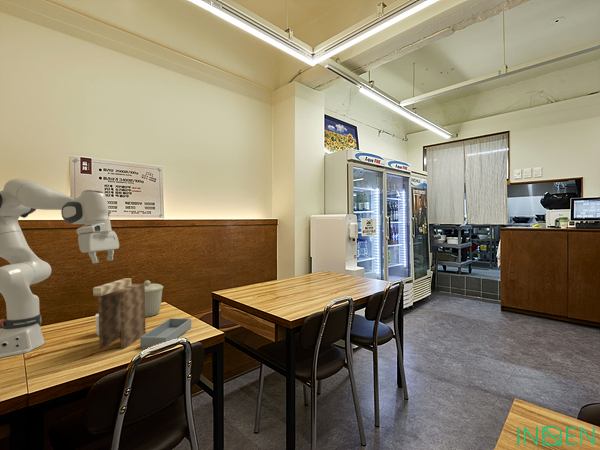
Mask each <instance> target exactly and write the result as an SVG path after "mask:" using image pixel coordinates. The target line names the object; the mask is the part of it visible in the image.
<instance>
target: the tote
mask: <svg viewBox="0 0 600 450" xmlns="http://www.w3.org/2000/svg"><path fill="white" fill-rule="evenodd" d="M190 328H191V329H192V318H181V317H180V318H175V317H174V318H173V317H172V318H171V317H170V318H168V319H166V320H164V321H163V322H162V323H160V324H158V325H157V326H155V327H154V328H153V329H151V330H149V331H148V332H146V334H144V335H143V336H141V337H140V339H139V340H140V348H141V349H149V348H148V347H151V346H153V345H156V344H159V343H162V342H166V341H170V340H172V339H176V338H178V339H180V338H181V337H182V336H183V335H185V334H186V333H187V332H188V331H190V330H191V329H190ZM180 336H181V337H180ZM179 337H180V338H179Z"/></svg>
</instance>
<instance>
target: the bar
mask: <svg viewBox="0 0 600 450" xmlns="http://www.w3.org/2000/svg"><path fill="white" fill-rule="evenodd" d="M132 284H133V283H132V278H130V277H129V278H127V277H126V278H121V279H119V280H118V279H117V280H115V281H111V282H108V283H104V284H102V285H98V286H94V287H93V288H92V291H93V292H92V293H93V294H92V296H93V297H98V296H103V295H106V294H108V293H111V292H114V291H117V290H120V289H123V288H126V287H129V286H132Z"/></svg>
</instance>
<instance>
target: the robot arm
mask: <svg viewBox="0 0 600 450" xmlns="http://www.w3.org/2000/svg"><path fill="white" fill-rule="evenodd" d="M36 210H45V211H46V210H47V211H48V210H49V211H51V210H52V211H53V210H55V211H61V212H60V214H61V217H62V219H63V220H64V222H66V223H67V224H71V225H82V226H79V227H78V228H77V229H76V234H77V235H78V237H77V242H78V248H79V250H80V253H84V254H85V253H88V256H89V258H90V259H91V263H92V264H96V263H97V264H98V263H99V262H100V259H99V257H98V256H97V252H103V251H106V252H107V257H106V261H107V262H109V261H110V262H111V261H113V260H114V253H115V250H118V249H120V242H119V237H118V234H117V233H116V232H115V230H113V229H112V223H111V222H112V221H111V219H110V209H109V202H108V199H107V196H106V194H105V193H104V192H103V191H101V190H91V189H90V190H89V189H88V190H86V189H85V190H82V192H80V195H79V196H78V197H73V196H69V195H67V194H65V193H63V192H59V191H57V190H55V189H53V188H50V187H49V186H46V185H44V184H42V183H38V182H35V181H32V180H28V179H22V178H13V179H10V180H8V181H7V182H5V184H4V186H3V189H2V190H0V258H2V259H4V260H5V261H7V262H8V263H9V264H6V265H3V266H0V294H1V296H2V297H3V299H4V301H5V305H6V306H5V308H6V310H5V311H6V318H1V319H0V358H7V357H10V356H16V355H21V354H27V353H29V352H31V351H32V350H34V349H37V348H39V347H41V346H43V345H44V344H45V342H46V341H45V339H44V336H43V333H42V329H41V328H42V327H41V325H42V314H41V313H40V298H39V296H38V295H36V294H33V292H32V290H31V288H30V287H31V286H32V285H36V284H39V283H40V282H41V283H42V282H43V281H45V280H46V279H48V278H49V277H50V276H51V274H52V267H51V265H50V264H49V262H47V261H44V260H42V259H41V258H40V257H38V256H37V255H36V254H35V252H34V251H33V250H32V249H31V248H30V245H28V242H27V240H26V238H25V235H24V234H23V231H22V228H21V226H20V224H19V218H20V217H21V218H24V219H25V218H27V217H29V215H30V214H32V213H34V212H36Z"/></svg>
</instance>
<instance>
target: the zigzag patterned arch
mask: <svg viewBox="0 0 600 450" xmlns="http://www.w3.org/2000/svg"><path fill="white" fill-rule="evenodd" d="M97 298H98V303H97V304H98V314H99V336H98V342H99V347H98V348H99V349H103V348H105V347H107V346H108V345H110V344H112V343H113V342H115V341H117V340H118V339H120V349H123V350H124V349H126V348H128V347H129V346H130V345H132V344H133V343H135V342H137V341H138V340H140V337H141V336H143V335H144V334H146V333H147V332H146V317H145V284H144V283H132V286H129V287H126V288H123V289H120V290H117V291H114V292H111V293H108V294H106V295H103V296H97Z"/></svg>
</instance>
